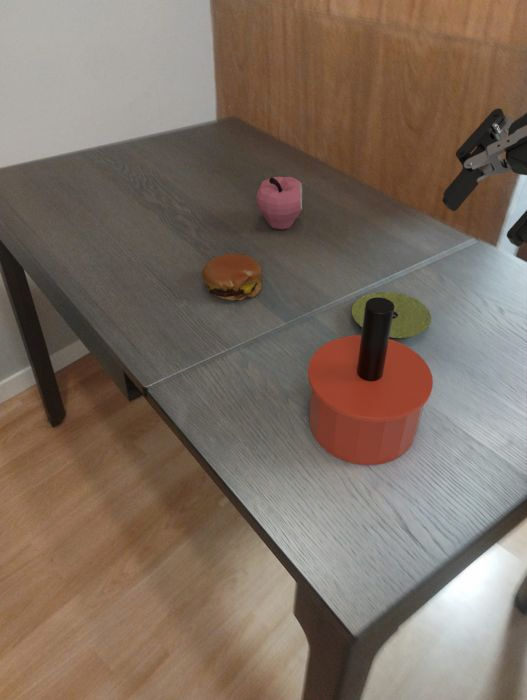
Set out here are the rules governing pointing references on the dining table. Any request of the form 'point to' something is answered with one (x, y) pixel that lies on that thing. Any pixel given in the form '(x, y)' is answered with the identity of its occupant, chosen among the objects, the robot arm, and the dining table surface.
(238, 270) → the burger
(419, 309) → the mat
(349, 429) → the cup
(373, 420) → the cooker lid
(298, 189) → the apple
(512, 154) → the robot arm
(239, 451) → the dining table surface
